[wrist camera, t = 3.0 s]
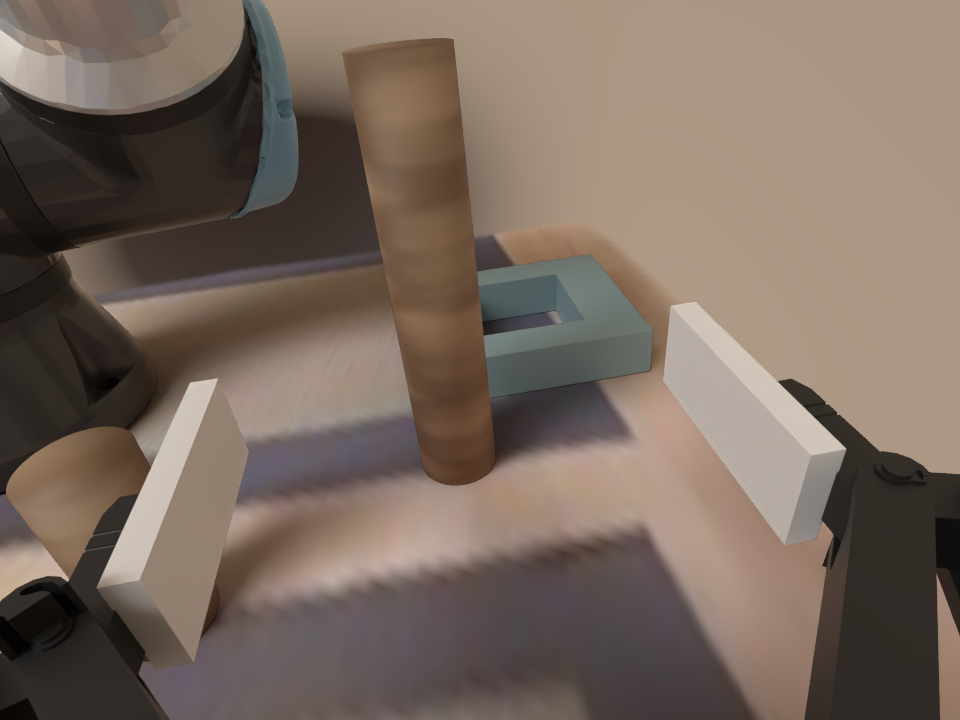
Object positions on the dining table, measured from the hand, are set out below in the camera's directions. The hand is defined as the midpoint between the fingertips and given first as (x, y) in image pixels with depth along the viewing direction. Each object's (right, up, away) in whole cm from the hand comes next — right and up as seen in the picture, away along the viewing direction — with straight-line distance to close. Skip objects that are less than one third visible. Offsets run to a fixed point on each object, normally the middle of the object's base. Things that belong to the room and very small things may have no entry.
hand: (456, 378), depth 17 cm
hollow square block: (+4, +2, +24) cm, 25 cm away
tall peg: (0, -5, +15) cm, 15 cm away
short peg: (-13, -11, +8) cm, 18 cm away
